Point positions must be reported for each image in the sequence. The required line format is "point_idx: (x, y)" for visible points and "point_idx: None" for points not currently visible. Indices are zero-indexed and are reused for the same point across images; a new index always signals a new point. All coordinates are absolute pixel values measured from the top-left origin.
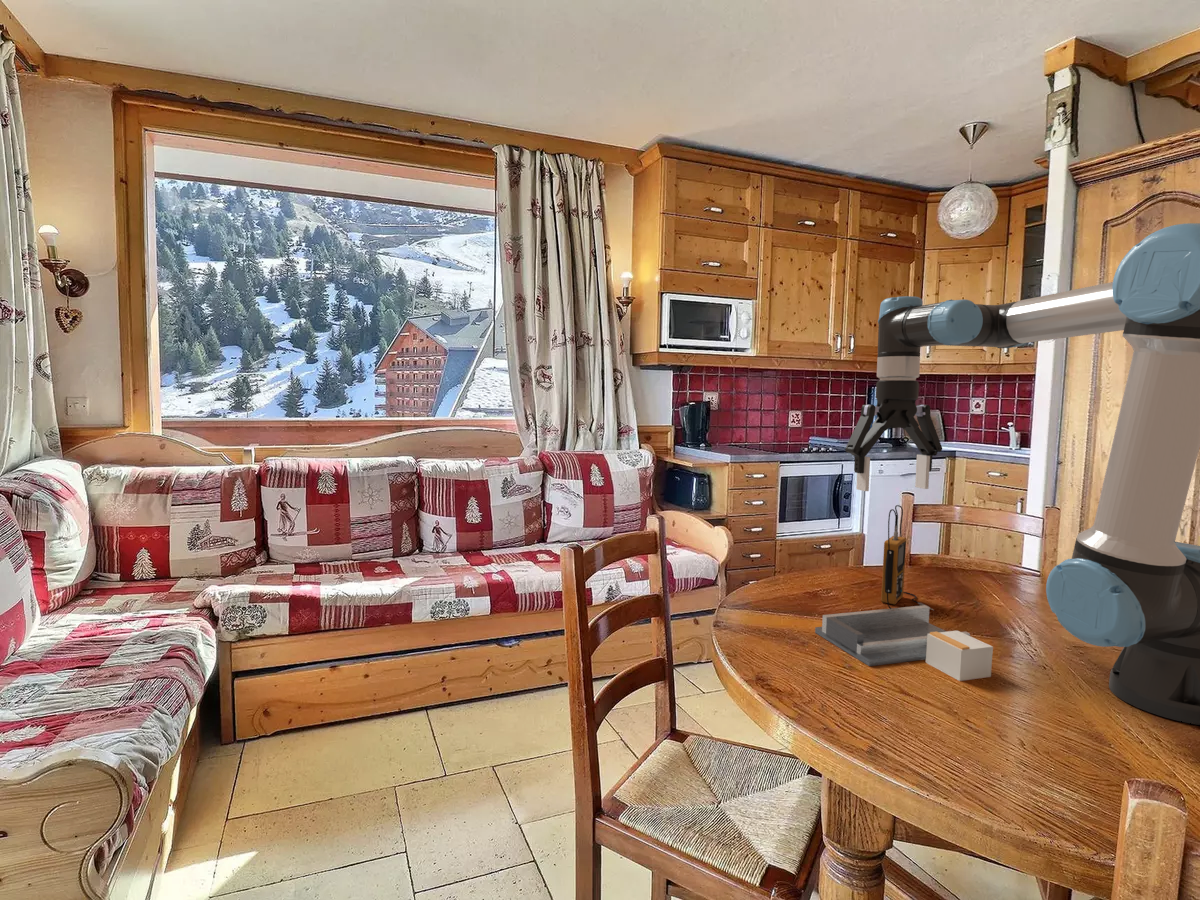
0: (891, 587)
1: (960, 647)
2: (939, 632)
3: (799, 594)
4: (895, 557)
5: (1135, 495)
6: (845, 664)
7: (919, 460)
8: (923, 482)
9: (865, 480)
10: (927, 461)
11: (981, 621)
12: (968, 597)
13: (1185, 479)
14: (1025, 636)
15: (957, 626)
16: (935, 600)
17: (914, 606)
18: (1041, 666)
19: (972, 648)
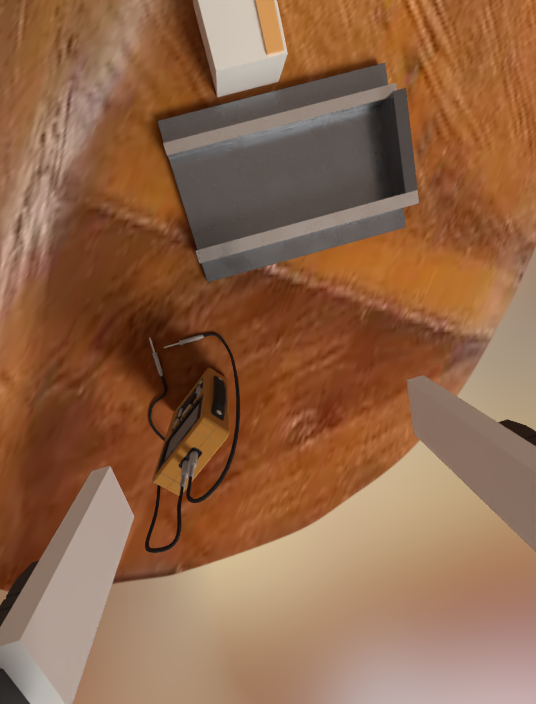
0: (215, 378)
1: None
2: (259, 60)
3: (350, 413)
4: (208, 403)
5: None
6: (413, 80)
7: (74, 641)
8: (105, 496)
9: (454, 396)
10: (34, 597)
11: (80, 288)
12: (45, 419)
13: None
14: (28, 209)
15: (139, 261)
16: (119, 398)
17: (223, 255)
18: (72, 50)
19: None
